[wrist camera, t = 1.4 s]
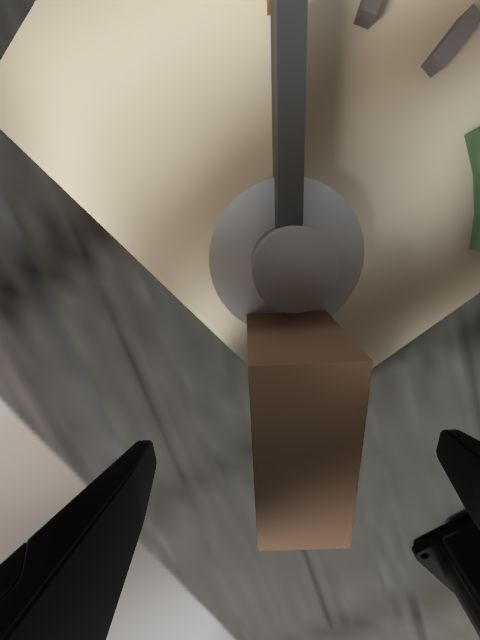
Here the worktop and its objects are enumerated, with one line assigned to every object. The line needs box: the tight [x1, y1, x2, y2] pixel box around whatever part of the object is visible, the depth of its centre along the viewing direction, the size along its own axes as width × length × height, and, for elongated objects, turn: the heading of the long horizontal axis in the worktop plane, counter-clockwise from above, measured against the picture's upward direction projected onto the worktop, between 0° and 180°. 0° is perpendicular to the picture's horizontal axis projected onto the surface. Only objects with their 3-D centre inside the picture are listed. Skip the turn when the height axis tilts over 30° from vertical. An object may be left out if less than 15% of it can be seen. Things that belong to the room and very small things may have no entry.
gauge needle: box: [209, 0, 373, 551], centre depth 7 cm, size 13×4×4 cm, turn 3°
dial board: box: [0, 0, 480, 368], centre depth 8 cm, size 14×12×2 cm
